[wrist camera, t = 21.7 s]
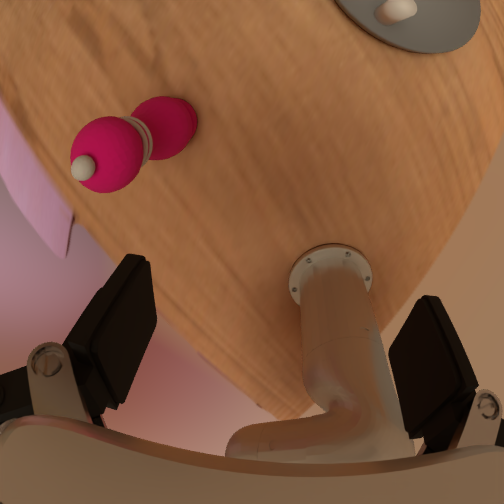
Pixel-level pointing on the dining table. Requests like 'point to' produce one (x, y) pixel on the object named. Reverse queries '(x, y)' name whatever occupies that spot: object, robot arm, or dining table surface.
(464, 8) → the turntable
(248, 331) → the dining table surface
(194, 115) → the pepper mill
